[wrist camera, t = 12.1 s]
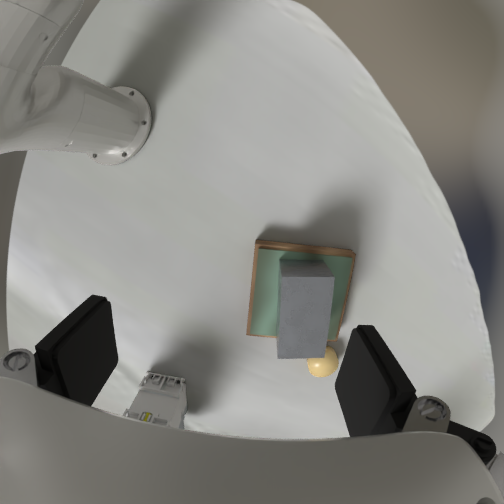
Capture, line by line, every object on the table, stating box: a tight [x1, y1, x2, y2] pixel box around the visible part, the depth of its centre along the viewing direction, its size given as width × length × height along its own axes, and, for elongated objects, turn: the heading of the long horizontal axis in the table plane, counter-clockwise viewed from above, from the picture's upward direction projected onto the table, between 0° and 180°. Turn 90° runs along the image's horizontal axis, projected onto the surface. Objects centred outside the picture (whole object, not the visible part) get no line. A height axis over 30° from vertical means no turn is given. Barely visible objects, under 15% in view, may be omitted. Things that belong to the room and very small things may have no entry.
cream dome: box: [307, 346, 338, 377], centre depth 45 cm, size 5×5×2 cm
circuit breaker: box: [123, 372, 187, 429], centre depth 43 cm, size 8×14×15 cm, turn 176°
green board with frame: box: [246, 240, 356, 341], centre depth 41 cm, size 14×14×3 cm
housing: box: [276, 259, 335, 359], centre depth 36 cm, size 11×6×7 cm, turn 0°
